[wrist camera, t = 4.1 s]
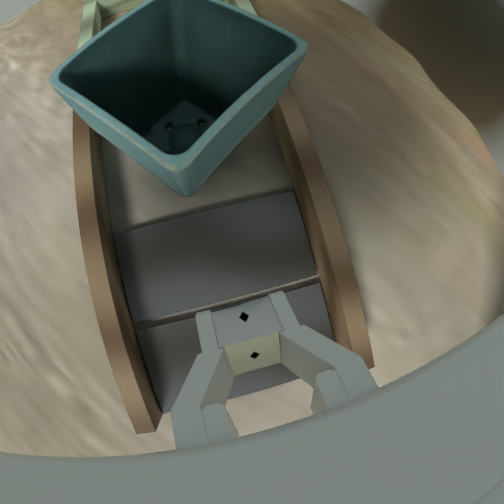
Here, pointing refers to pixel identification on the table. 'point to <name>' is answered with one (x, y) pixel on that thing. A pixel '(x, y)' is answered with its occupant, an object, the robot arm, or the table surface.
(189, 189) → the flower pot
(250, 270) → the channel
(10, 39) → the table surface
